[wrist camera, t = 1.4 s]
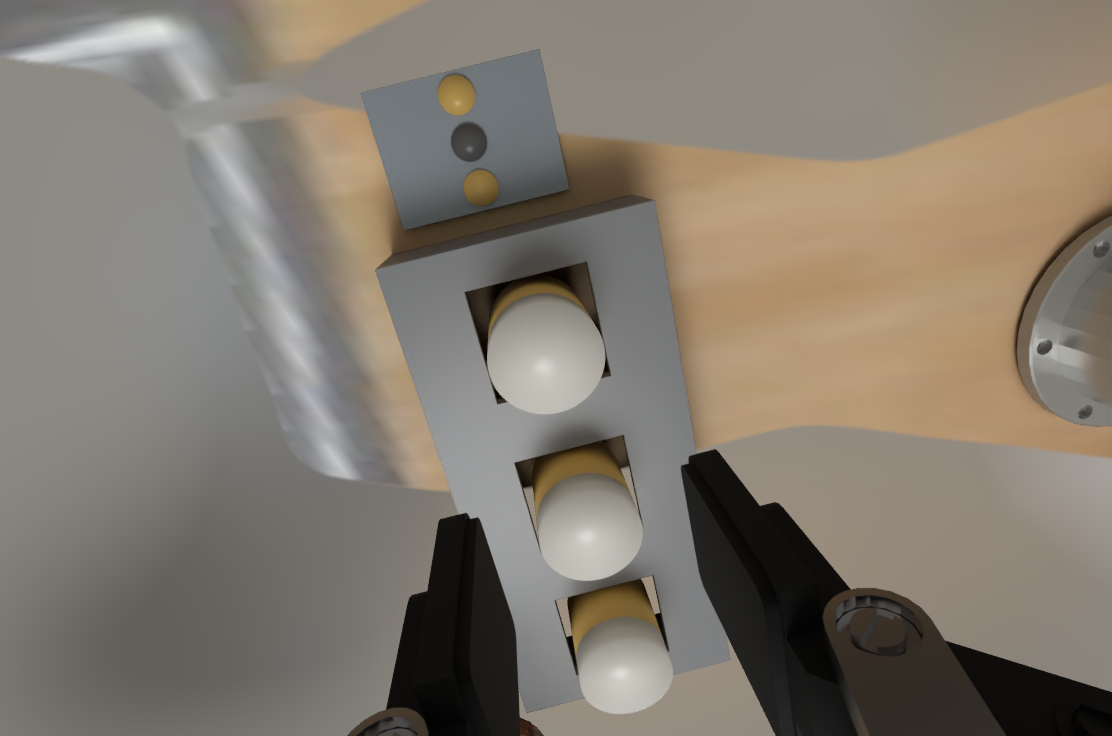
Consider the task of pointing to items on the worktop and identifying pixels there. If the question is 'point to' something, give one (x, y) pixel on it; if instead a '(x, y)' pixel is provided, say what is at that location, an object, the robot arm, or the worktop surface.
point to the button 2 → (619, 648)
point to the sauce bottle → (528, 729)
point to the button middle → (585, 512)
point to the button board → (561, 421)
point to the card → (468, 139)
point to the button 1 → (543, 346)
